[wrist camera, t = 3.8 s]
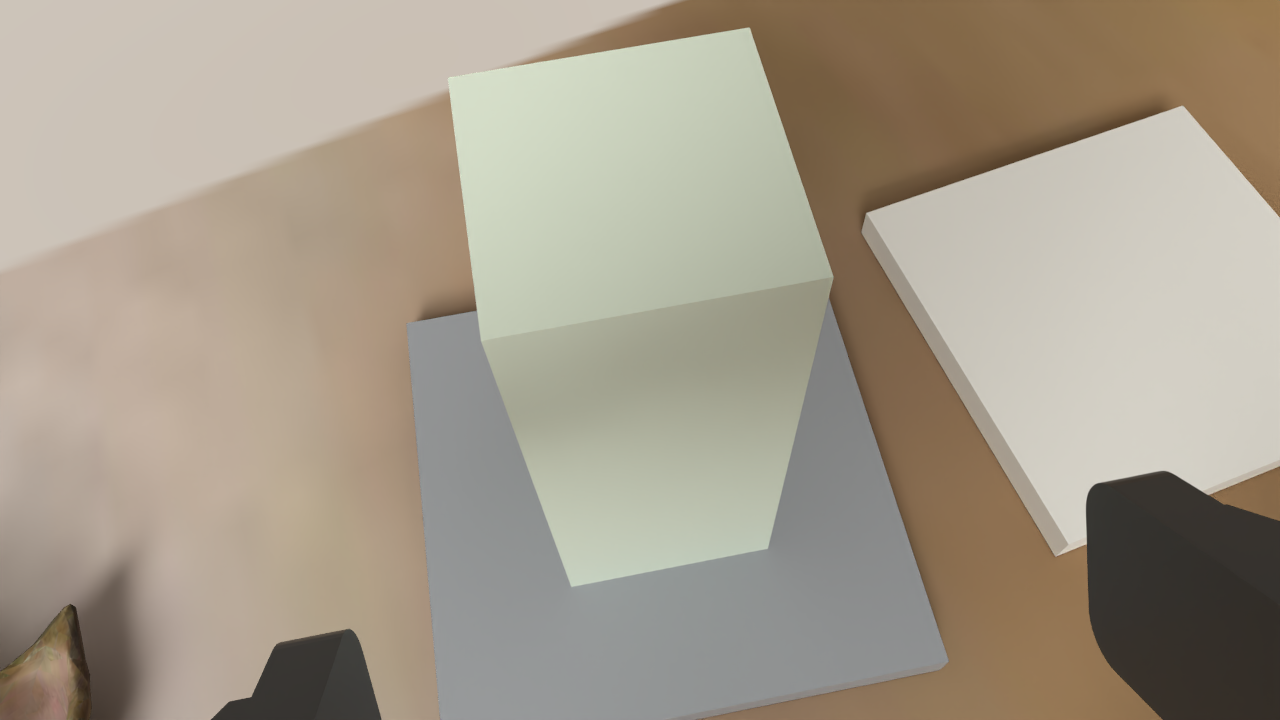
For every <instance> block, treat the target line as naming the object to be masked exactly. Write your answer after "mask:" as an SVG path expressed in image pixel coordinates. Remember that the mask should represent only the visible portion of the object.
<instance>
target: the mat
mask: <svg viewBox="0 0 1280 720" xmlns="http://www.w3.org/2000/svg"><path fill="white" fill-rule="evenodd" d="M861 233H862V235H863V236H864V238H865V240H866V241H867V243H868V245H869V246H870V248H871V250H872V251H873V253H874V255H875V257H876V258H877V260H878V262H879V263H880V265H881V267H882V268H883V270H884V272H885V273H886V275H887V277H888V278H889V280H890V282H891V283H892V285H893V287H894V288H895V290H896V292H897V293H898V295H899V297H900V298H901V300H902V302H903V303H904V305H905V307H906V308H907V310H908V312H909V313H910V315H911V317H912V318H913V320H914V322H915V323H916V325H917V327H918V328H919V330H920V332H921V333H922V335H923V337H924V338H925V340H926V342H927V343H928V345H929V347H930V348H931V350H932V352H933V353H934V355H935V357H936V358H937V360H938V362H939V363H940V365H941V367H942V368H943V370H944V372H945V373H946V375H947V377H948V378H949V380H950V382H951V383H952V385H953V387H954V388H955V390H956V392H957V393H958V395H959V397H960V398H961V400H962V402H963V403H964V405H965V407H966V408H967V410H968V412H969V413H970V415H971V417H972V418H973V420H974V422H975V423H976V425H977V427H978V428H979V430H980V432H981V433H982V435H983V437H984V438H985V440H986V442H987V443H988V445H989V447H990V448H991V450H992V452H993V453H994V455H995V457H996V458H997V460H998V462H999V463H1000V465H1001V467H1002V468H1003V470H1004V472H1005V473H1006V475H1007V477H1008V478H1009V480H1010V482H1011V483H1012V485H1013V487H1014V488H1015V490H1016V492H1017V493H1018V495H1019V497H1020V498H1021V500H1022V502H1023V503H1024V505H1025V507H1026V508H1027V510H1028V512H1029V513H1030V515H1031V517H1032V518H1033V520H1034V522H1035V523H1036V525H1037V527H1038V528H1039V530H1040V532H1041V533H1042V535H1043V537H1044V538H1045V540H1046V542H1047V543H1048V545H1049V547H1050V548H1051V550H1052V552H1053V554H1054V555H1055V557H1056V556H1058V555H1061V554H1063V553H1066V552H1068V551H1071V550H1073V549H1076V548H1078V547H1081V546H1083V545H1085V544H1087V532H1086V500H1087V495H1088V492H1089V490H1090V489H1091V487H1092V486H1093V485H1095V484H1097V483H1101V482H1106V481H1112V480H1117V479H1122V478H1127V477H1132V476H1137V475H1142V474H1147V473H1152V472H1157V471H1168V472H1170V473H1172V474H1174V475H1176V476H1178V477H1179V478H1181V479H1183V480H1184V481H1186V482H1187V483H1189V484H1191V485H1192V486H1194V487H1196V488H1197V489H1199V490H1201V491H1202V492H1204V493H1205V494H1207V495H1210V494H1212V493H1215V492H1217V491H1220V490H1222V489H1225V488H1227V487H1230V486H1232V485H1234V484H1237V483H1239V482H1242V481H1244V480H1247V479H1249V478H1252V477H1254V476H1257V475H1259V474H1262V473H1264V472H1267V471H1269V470H1272V469H1274V468H1277V467H1279V466H1280V217H1279V216H1278V215H1277V214H1276V213H1275V212H1274V211H1273V209H1272V208H1271V207H1270V206H1269V205H1268V204H1267V202H1266V201H1265V200H1264V199H1263V198H1262V197H1261V195H1260V194H1259V193H1258V192H1257V191H1256V190H1255V189H1254V187H1253V186H1252V185H1251V184H1250V183H1249V182H1248V180H1247V179H1246V178H1245V177H1244V176H1243V175H1242V173H1241V172H1240V171H1239V170H1238V169H1237V168H1236V167H1235V165H1234V164H1233V163H1232V162H1231V161H1230V160H1229V158H1228V157H1227V156H1226V155H1225V154H1224V153H1223V151H1222V150H1221V149H1220V148H1219V147H1218V146H1217V145H1216V143H1215V142H1214V141H1213V140H1212V139H1211V138H1210V136H1209V135H1208V134H1207V133H1206V132H1205V131H1204V129H1203V128H1202V127H1201V126H1200V125H1199V124H1198V123H1197V121H1196V120H1195V119H1194V118H1193V117H1192V116H1191V114H1190V113H1189V112H1188V111H1187V110H1186V109H1185V107H1184V106H1180V107H1177V108H1174V109H1172V110H1169V111H1166V112H1163V113H1160V114H1157V115H1154V116H1151V117H1148V118H1145V119H1142V120H1139V121H1136V122H1133V123H1130V124H1127V125H1124V126H1121V127H1118V128H1115V129H1113V130H1110V131H1107V132H1104V133H1101V134H1098V135H1095V136H1092V137H1089V138H1086V139H1083V140H1080V141H1077V142H1074V143H1071V144H1068V145H1065V146H1062V147H1059V148H1057V149H1054V150H1051V151H1048V152H1045V153H1042V154H1039V155H1036V156H1033V157H1030V158H1027V159H1024V160H1021V161H1018V162H1015V163H1012V164H1009V165H1006V166H1003V167H1000V168H998V169H995V170H992V171H989V172H986V173H983V174H980V175H977V176H974V177H971V178H968V179H965V180H962V181H959V182H956V183H953V184H950V185H947V186H944V187H942V188H939V189H936V190H933V191H930V192H927V193H924V194H921V195H918V196H915V197H912V198H909V199H906V200H903V201H900V202H897V203H894V204H891V205H888V206H886V207H883V208H880V209H877V210H874V211H871V212H868V213H866V217H865V220H864V224H863V228H862V232H861Z"/></svg>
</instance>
